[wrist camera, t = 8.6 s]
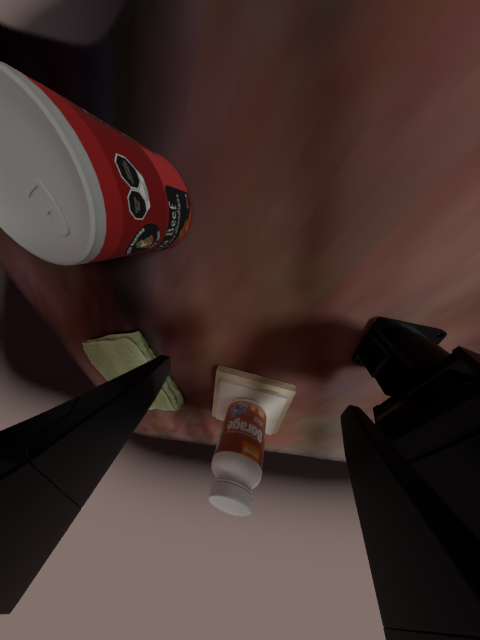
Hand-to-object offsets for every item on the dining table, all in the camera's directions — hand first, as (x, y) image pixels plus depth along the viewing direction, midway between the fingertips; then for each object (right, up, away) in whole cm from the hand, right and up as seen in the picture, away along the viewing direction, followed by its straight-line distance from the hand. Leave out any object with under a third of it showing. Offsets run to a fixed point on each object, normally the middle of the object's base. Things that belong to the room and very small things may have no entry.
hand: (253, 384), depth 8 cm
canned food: (-9, +15, +9) cm, 20 cm away
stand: (+1, -10, +21) cm, 23 cm away
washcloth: (-19, -6, +24) cm, 31 cm away
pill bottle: (+1, -11, +19) cm, 22 cm away
